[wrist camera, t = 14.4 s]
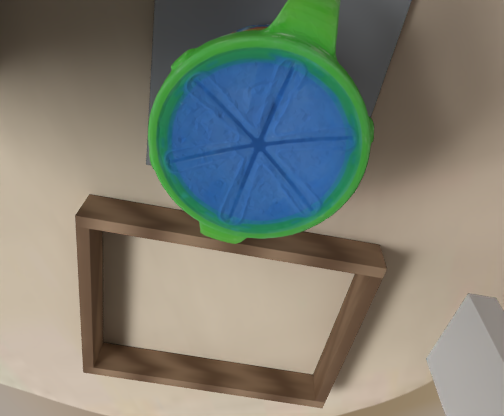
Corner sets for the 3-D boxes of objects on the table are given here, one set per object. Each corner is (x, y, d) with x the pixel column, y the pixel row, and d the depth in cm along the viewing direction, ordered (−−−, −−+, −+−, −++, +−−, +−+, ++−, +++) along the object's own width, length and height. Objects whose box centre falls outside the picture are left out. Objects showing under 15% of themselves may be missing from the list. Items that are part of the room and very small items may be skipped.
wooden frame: (93, 347, 46) (83, 372, 43) (89, 194, 35) (75, 215, 33) (319, 382, 47) (322, 408, 45) (379, 244, 37) (387, 268, 34)
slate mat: (148, 160, 34) (146, 164, 33) (161, -70, 25) (158, -70, 25) (340, 195, 34) (341, 199, 34) (414, -17, 26) (416, -15, 26)
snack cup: (277, 203, 34) (278, 297, 26) (149, 145, 32) (103, 228, 24) (402, 8, 26) (462, 53, 18) (243, -87, 24) (225, -87, 16)
